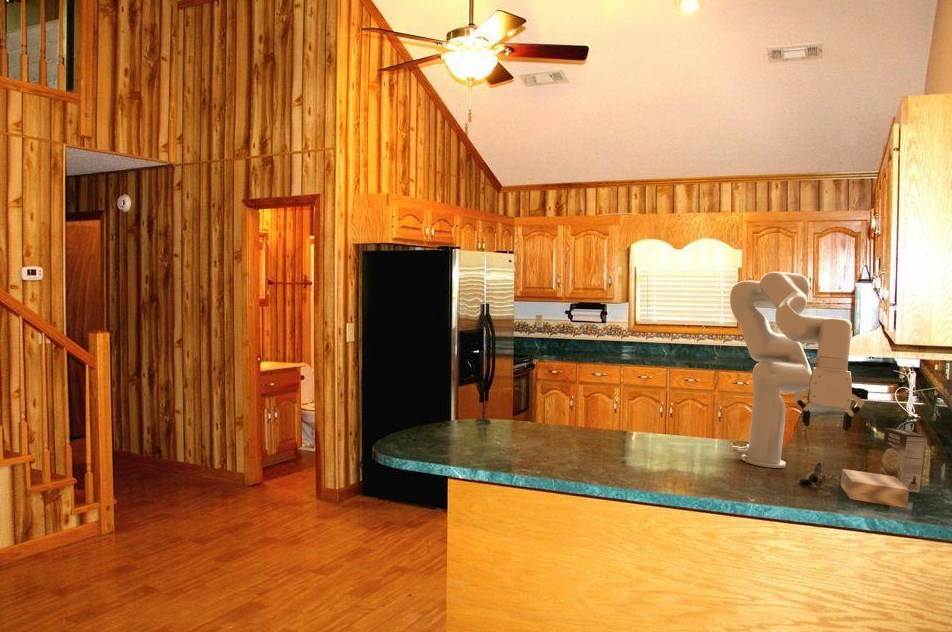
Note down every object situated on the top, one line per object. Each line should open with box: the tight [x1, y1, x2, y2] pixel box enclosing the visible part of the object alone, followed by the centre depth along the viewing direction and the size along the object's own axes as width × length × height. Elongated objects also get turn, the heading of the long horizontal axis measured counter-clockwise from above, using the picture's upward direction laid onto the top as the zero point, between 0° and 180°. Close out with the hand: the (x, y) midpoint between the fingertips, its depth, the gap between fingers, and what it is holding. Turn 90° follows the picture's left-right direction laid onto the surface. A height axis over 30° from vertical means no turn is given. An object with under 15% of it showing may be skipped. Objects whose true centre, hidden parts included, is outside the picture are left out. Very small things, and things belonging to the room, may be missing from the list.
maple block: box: [840, 468, 910, 509], centre depth 188 cm, size 13×15×5 cm
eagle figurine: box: [799, 462, 835, 492], centre depth 192 cm, size 8×7×9 cm
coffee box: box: [879, 427, 927, 493], centre depth 200 cm, size 9×6×16 cm
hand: (825, 427), depth 190 cm, fingers open, 9 cm apart
